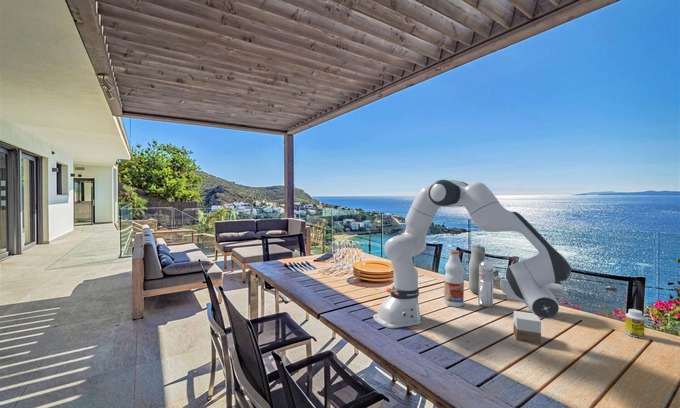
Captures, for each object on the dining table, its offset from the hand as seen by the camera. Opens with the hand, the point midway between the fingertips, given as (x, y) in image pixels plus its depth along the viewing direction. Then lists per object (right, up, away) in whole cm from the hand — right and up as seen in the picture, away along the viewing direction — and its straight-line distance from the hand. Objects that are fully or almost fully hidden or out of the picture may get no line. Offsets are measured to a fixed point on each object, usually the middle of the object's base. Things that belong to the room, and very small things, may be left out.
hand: (526, 282), depth 118 cm
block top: (0, -18, 0) cm, 18 cm away
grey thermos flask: (+5, -21, +52) cm, 56 cm away
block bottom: (0, -23, 0) cm, 23 cm away
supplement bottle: (+45, -22, +1) cm, 50 cm away
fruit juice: (-15, -21, +36) cm, 44 cm away
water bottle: (0, -21, +34) cm, 40 cm away
